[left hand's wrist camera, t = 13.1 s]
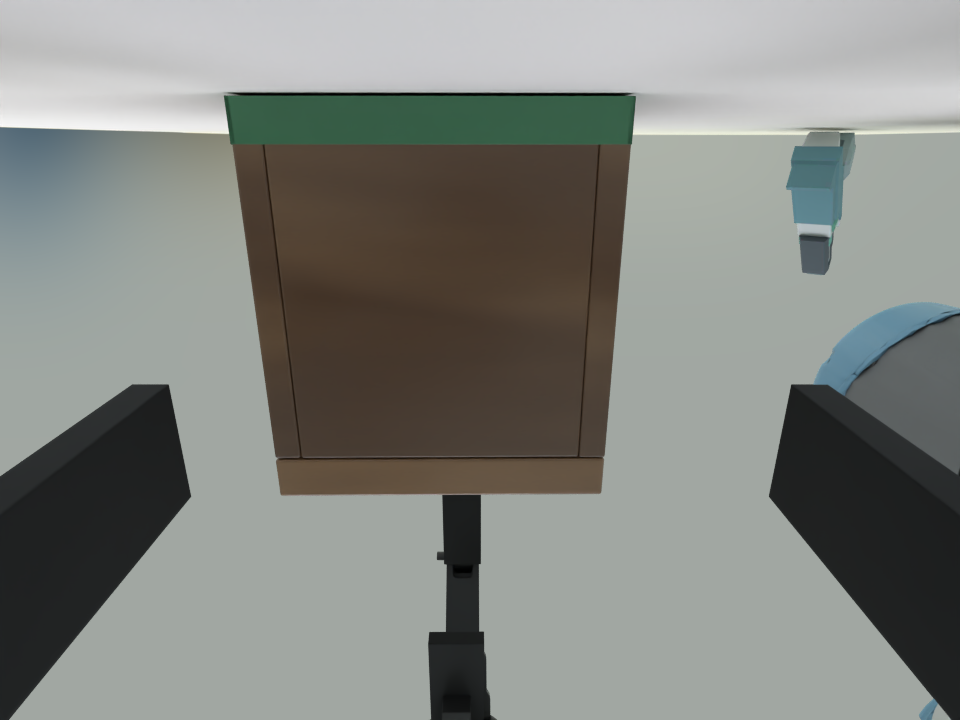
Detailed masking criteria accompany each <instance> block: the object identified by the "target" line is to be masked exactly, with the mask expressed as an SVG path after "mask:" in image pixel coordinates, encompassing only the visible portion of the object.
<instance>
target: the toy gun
mask: <svg viewBox="0 0 960 720" xmlns="http://www.w3.org/2000/svg"><path fill="white" fill-rule="evenodd" d="M855 147H856V145H855V134H854V133H839V132H810V133H809V134H808V135H807V137H806V139H805V141H804V143H803V145H802V146H795V148H794V152H793V155H792V159H791V166H792V168H791V172H790V175H789V179H788V182H787V186H786V188H787V190H792V202H793V213H794V223H797V230H798V235H799V240H800V241H799V244H800V250H801V263H802V272H803V273H808V274H816V275H825V273H826V272H827V271H828V269H829V265H830V261H831V250H832V243H833V232H834V229H835V227H838V226H839V225H840V219H841V216H842V195H843V180H844V179H845V178H846V177H847V176H848V175H849V173H850V170H851V166H852V162H853V157H854V153H855Z"/></svg>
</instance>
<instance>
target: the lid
mask: <svg viewBox="0 0 960 720" xmlns="http://www.w3.org/2000/svg"><path fill="white" fill-rule="evenodd" d="M276 464H277V471H278V478H279V485H280V493H281V495H282V496H319V495H489V494H492V495H493V494H600V493H601V489H602V477H603V465H604V459H603V457H580V456H579V455H578V456H572V457H377V458H303V457H302V456H301V457H299V458H278V459H277V461H276Z"/></svg>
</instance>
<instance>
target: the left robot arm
mask: <svg viewBox="0 0 960 720" xmlns="http://www.w3.org/2000/svg"><path fill="white" fill-rule="evenodd" d="M190 497H191V494H190V489H189V484H188V479H187V474H186V469H185V464H184V459H183V454H182V449H181V444H180V439H179V434H178V429H177V424H176V419H175V414H174V409H173V404H172V399H171V394H170V389H169V385H131V386H129V387H128V388H127V389H125V390H124V391H122V392H121V393H119V394H118V395H117V396H115V397H114V398H112V399H111V400H109V401H108V402H106V403H105V404H104V405H102V406H101V407H99V408H98V409H96V410H95V411H94V412H92V413H91V414H89V415H88V416H86V417H85V418H83V419H82V420H81V421H79V422H78V423H76V424H75V425H73V426H72V427H71V428H69V429H68V430H66V431H65V432H63V433H62V434H60V435H59V436H58V437H56V438H55V439H53V440H52V441H50V442H49V443H48V444H46V445H45V446H43V447H42V448H40V449H39V450H37V451H36V452H35V453H33V454H32V455H30V456H29V457H27V458H26V459H25V460H23V461H22V462H20V463H19V464H17V465H16V466H15V467H13V468H12V469H10V470H9V471H7V472H6V473H4V474H3V475H2V476H0V720H9V719H10V718H11V717H12V715H13V714H14V713H15V712H16V710H17V709H18V708H19V707H20V705H21V704H22V703H23V702H24V701H25V699H26V698H27V697H28V696H29V694H30V693H31V692H32V691H33V690H34V688H35V687H36V686H37V685H38V683H39V682H40V681H41V680H42V678H43V677H44V676H45V675H46V674H47V672H48V671H49V670H50V669H51V668H52V666H53V665H54V664H55V663H56V661H57V660H58V659H59V658H60V657H61V655H62V654H63V653H64V652H65V650H66V649H67V648H68V647H69V645H70V644H71V643H72V642H73V640H74V639H75V638H76V637H77V636H78V634H79V633H80V632H81V631H82V630H83V628H84V627H85V626H86V625H87V623H88V622H89V621H90V620H91V619H92V617H93V616H94V615H95V614H96V612H97V611H98V610H99V609H100V608H101V606H102V605H103V604H104V603H105V601H106V600H107V599H108V598H109V596H110V595H111V594H112V593H113V592H114V590H115V589H116V588H117V587H118V585H119V584H120V583H121V582H122V581H123V579H124V578H125V577H126V576H127V574H128V573H129V572H130V571H131V570H132V568H133V567H134V566H135V565H136V563H137V562H138V561H139V560H140V559H141V557H142V556H143V555H144V554H145V552H146V551H147V550H148V549H149V547H150V546H151V545H152V544H153V543H154V541H155V540H156V539H157V538H158V536H159V535H160V534H161V533H162V532H163V530H164V529H165V528H166V527H167V525H168V524H169V523H170V522H171V520H172V519H173V518H174V517H175V516H176V514H177V513H178V512H179V511H180V509H181V508H182V507H183V506H184V505H185V503H186V502H187V501H188V500H189V498H190ZM769 497H770V498H771V500H772V501H773V502H774V503H775V505H776V506H777V507H778V508H779V509H780V511H781V512H782V513H783V514H784V516H785V517H786V518H787V519H788V521H789V522H790V523H791V524H792V525H793V527H794V528H795V529H796V530H797V532H798V533H799V534H800V535H801V536H802V538H803V539H804V540H805V541H806V543H807V544H808V545H809V546H810V547H811V549H812V550H813V551H814V552H815V554H816V555H817V556H818V557H819V559H820V560H821V561H822V562H823V563H824V565H825V566H826V567H827V568H828V569H829V571H830V572H831V573H832V574H833V576H834V577H835V578H836V579H837V581H838V582H839V583H840V584H841V585H842V587H843V588H844V589H845V590H846V592H847V593H848V594H849V595H850V596H851V598H852V599H853V600H854V601H855V603H856V604H857V605H858V606H859V607H860V609H861V610H862V611H863V612H864V614H865V615H866V616H867V617H868V619H869V620H870V621H871V622H872V623H873V625H874V626H875V627H876V628H877V629H878V631H879V632H880V633H881V634H882V636H883V637H884V638H885V639H886V641H887V642H888V643H889V644H890V645H891V647H892V648H893V649H894V650H895V652H896V653H897V654H898V655H899V656H900V658H901V659H902V660H903V661H904V663H905V664H906V665H907V666H908V668H909V669H910V670H911V671H912V672H913V674H914V675H915V676H916V677H917V679H918V680H919V681H920V682H921V683H922V685H923V686H924V687H925V688H926V690H927V691H928V692H929V693H930V694H931V696H932V697H933V698H934V699H935V701H936V702H937V703H938V704H939V706H940V707H941V708H942V709H943V710H944V712H945V713H946V714H947V715H948V717H949V718H950V719H951V720H960V476H958V475H957V474H956V473H954V472H953V471H951V470H950V469H948V468H947V467H946V466H944V465H943V464H941V463H940V462H938V461H937V460H935V459H934V458H933V457H931V456H930V455H928V454H927V453H925V452H924V451H923V450H921V449H920V448H918V447H917V446H915V445H914V444H912V443H911V442H910V441H908V440H907V439H905V438H904V437H902V436H901V435H900V434H898V433H897V432H895V431H894V430H892V429H891V428H889V427H888V426H887V425H885V424H884V423H882V422H881V421H879V420H878V419H877V418H875V417H874V416H872V415H871V414H869V413H868V412H866V411H865V410H864V409H862V408H861V407H859V406H858V405H856V404H855V403H854V402H852V401H851V400H849V399H848V398H846V397H845V396H843V395H842V394H841V393H839V392H838V391H836V390H835V389H833V388H832V387H831V386H829V385H791V389H790V394H789V399H788V404H787V409H786V414H785V419H784V424H783V429H782V434H781V439H780V444H779V449H778V454H777V459H776V464H775V469H774V474H773V479H772V484H771V489H770V494H769Z"/></svg>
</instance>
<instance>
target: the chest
mask: <svg viewBox="0 0 960 720" xmlns="http://www.w3.org/2000/svg"><path fill="white" fill-rule="evenodd" d="M224 100H225V107H226V114H227V121H228V128H229V135H230V143H231V144H233V152H234V159H235V166H236V173H237V180H238V188H239V195H240V202H241V209H242V217H243V224H244V231H245V238H246V246H247V253H248V260H249V267H250V275H251V282H252V289H253V296H254V304H255V311H256V318H257V325H258V332H259V340H260V347H261V354H262V361H263V369H264V376H265V383H266V390H267V397H268V405H269V412H270V419H271V427H272V433H273V441H274V448H275V455H276V457H277V458H299V457H301V456H302V457H303V458H377V457H572V456H578V455H579V456H580V457H604V455H605V444H606V432H607V420H608V408H609V397H610V385H611V373H612V361H613V349H614V338H615V326H616V314H617V302H618V290H619V278H620V267H621V255H622V243H623V231H624V219H625V207H626V196H627V184H628V172H629V160H630V148H631V144H632V136H633V124H634V112H635V100H636V96H224Z"/></svg>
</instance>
